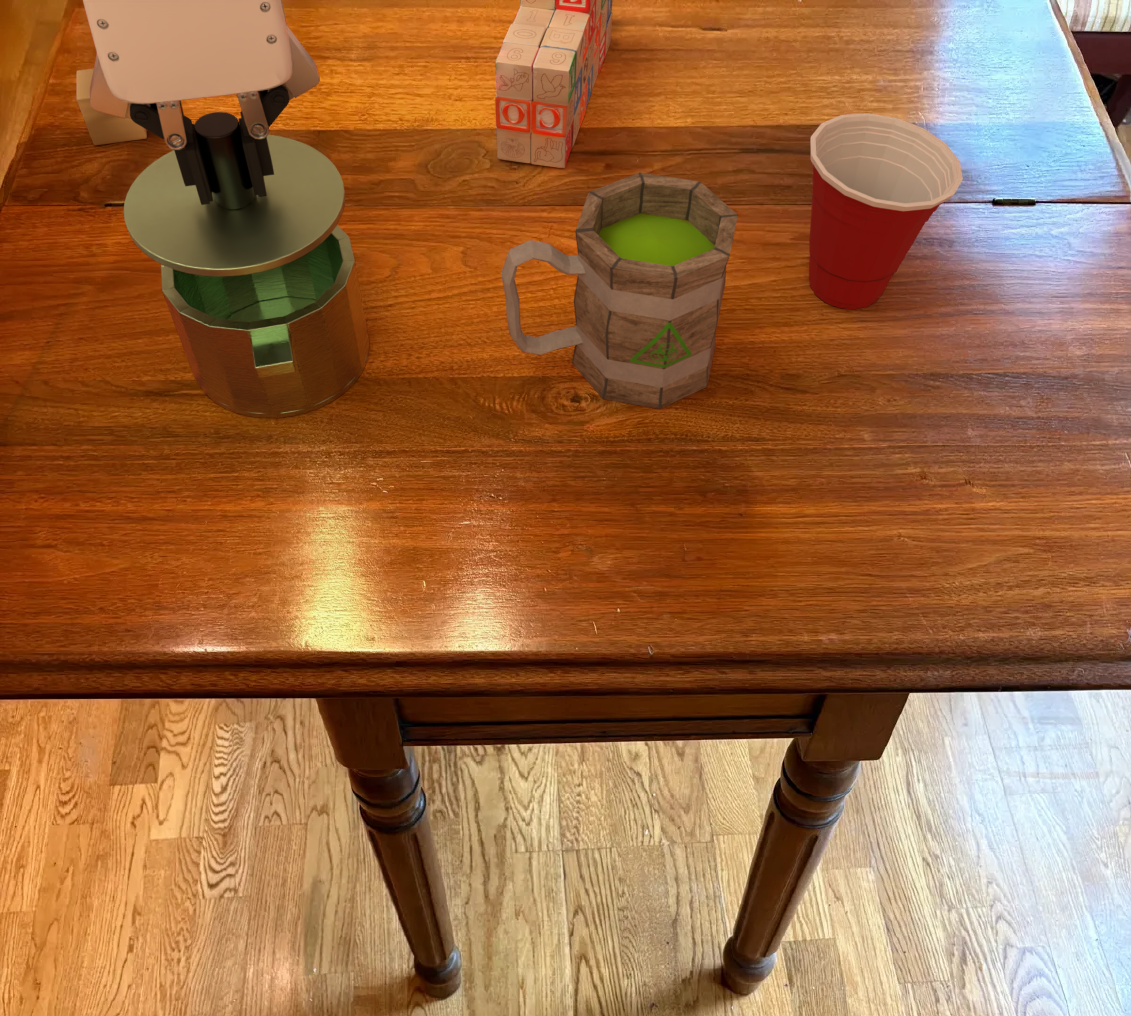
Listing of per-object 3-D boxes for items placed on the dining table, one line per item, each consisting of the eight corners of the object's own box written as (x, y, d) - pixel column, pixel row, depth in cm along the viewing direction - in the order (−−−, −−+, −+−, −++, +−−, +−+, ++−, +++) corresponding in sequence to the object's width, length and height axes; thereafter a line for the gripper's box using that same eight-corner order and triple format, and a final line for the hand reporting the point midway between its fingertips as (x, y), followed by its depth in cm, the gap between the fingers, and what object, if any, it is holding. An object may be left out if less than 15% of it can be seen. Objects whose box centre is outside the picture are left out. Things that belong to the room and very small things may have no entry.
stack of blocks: (566, 171, 93) (569, 35, 83) (496, 161, 93) (490, 25, 83) (611, 41, 105) (618, -91, 95) (548, 33, 106) (549, -99, 96)
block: (93, 146, 94) (75, 99, 90) (93, 116, 96) (76, 70, 93) (147, 139, 94) (131, 92, 91) (145, 110, 97) (130, 63, 93)
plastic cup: (934, 331, 82) (987, 199, 72) (793, 336, 81) (827, 204, 71) (898, 238, 88) (942, 106, 78) (767, 242, 87) (795, 109, 78)
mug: (697, 298, 83) (717, 165, 74) (734, 400, 77) (761, 269, 67) (495, 319, 81) (488, 186, 72) (515, 426, 75) (511, 295, 65)
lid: (132, 300, 64) (97, 211, 59) (125, 163, 72) (95, 74, 66) (361, 265, 66) (348, 178, 61) (331, 137, 74) (317, 49, 69)
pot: (202, 462, 73) (167, 374, 66) (187, 287, 83) (155, 195, 76) (388, 428, 75) (372, 339, 68) (350, 261, 85) (334, 169, 78)
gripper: (308, -173, 56) (353, 136, 71) (-22, -148, 53) (96, 168, 68) (328, -107, 52) (371, 206, 67) (-30, -76, 49) (98, 244, 64)
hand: (232, 185), depth 67 cm, fingers closed on lid, 2 cm apart
